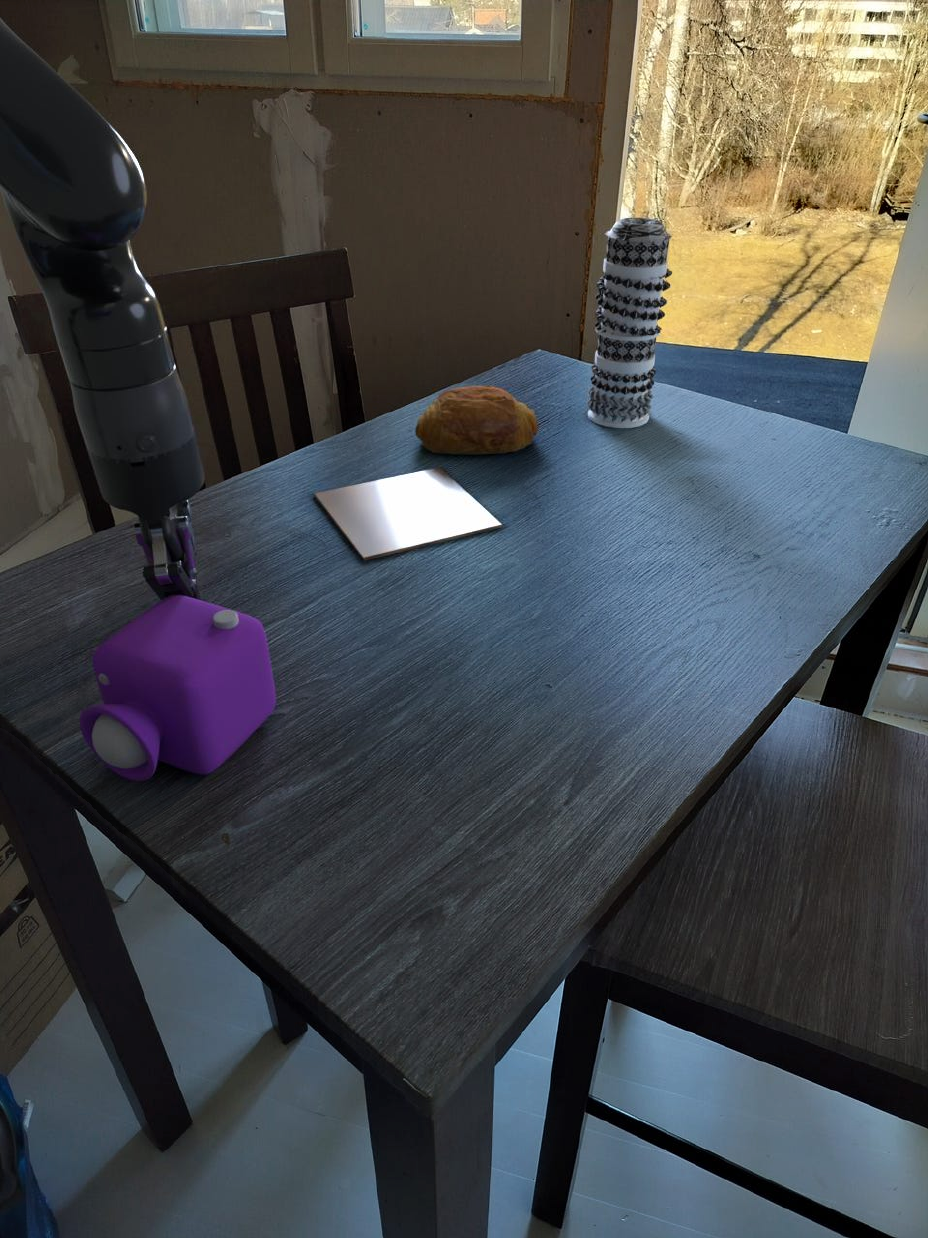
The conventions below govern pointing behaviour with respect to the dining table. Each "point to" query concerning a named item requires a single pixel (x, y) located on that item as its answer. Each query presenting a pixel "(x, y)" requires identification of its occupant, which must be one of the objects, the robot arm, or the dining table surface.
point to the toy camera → (179, 689)
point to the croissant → (476, 422)
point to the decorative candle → (628, 322)
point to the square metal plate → (405, 513)
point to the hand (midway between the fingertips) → (191, 621)
